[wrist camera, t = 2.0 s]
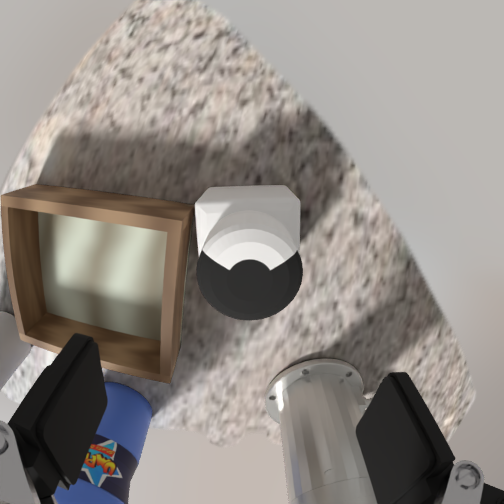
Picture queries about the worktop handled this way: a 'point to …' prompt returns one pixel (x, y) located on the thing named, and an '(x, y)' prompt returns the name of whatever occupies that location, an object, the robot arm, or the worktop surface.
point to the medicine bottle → (248, 249)
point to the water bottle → (112, 450)
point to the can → (10, 347)
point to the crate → (99, 273)
